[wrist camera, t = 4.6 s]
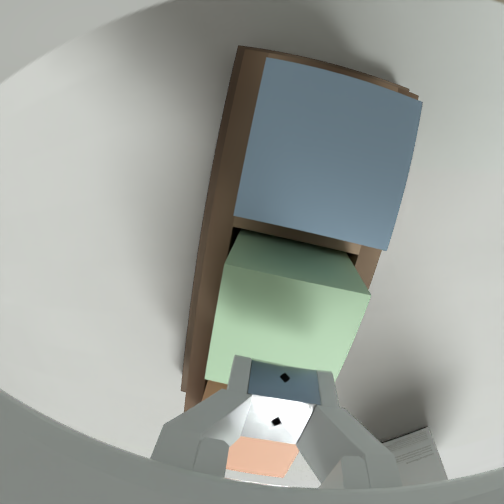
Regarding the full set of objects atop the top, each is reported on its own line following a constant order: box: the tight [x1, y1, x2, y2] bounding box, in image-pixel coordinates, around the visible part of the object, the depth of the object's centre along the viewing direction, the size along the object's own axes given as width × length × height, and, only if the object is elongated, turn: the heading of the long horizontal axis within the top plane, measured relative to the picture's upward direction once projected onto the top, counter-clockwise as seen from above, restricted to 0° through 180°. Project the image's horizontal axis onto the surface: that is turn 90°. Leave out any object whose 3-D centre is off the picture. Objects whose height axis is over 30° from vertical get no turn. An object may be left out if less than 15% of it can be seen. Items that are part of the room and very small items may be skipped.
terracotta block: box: [201, 380, 299, 478], centre depth 15 cm, size 5×5×5 cm
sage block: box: [205, 228, 371, 384], centre depth 13 cm, size 5×5×5 cm
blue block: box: [233, 57, 423, 251], centre depth 11 cm, size 5×5×5 cm
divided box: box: [181, 45, 418, 412], centre depth 17 cm, size 10×24×6 cm, turn 168°
